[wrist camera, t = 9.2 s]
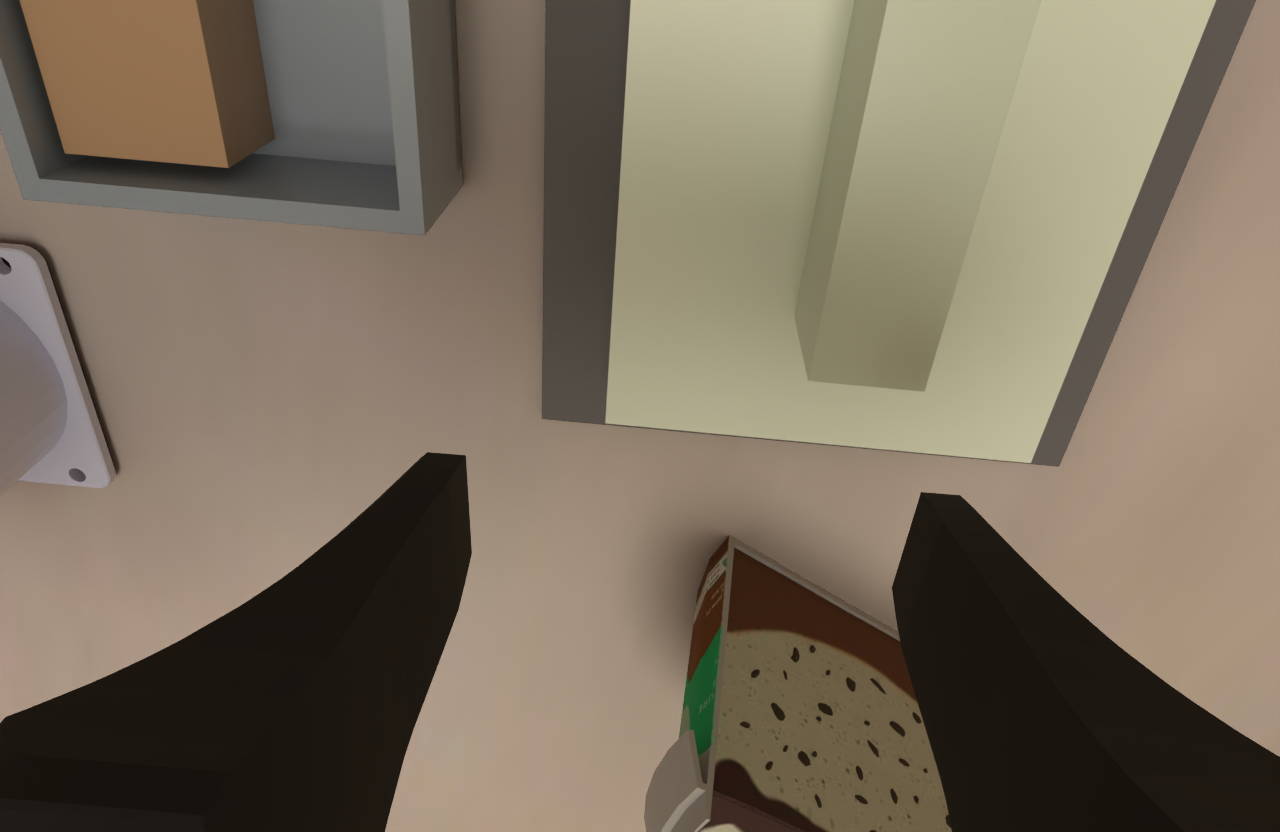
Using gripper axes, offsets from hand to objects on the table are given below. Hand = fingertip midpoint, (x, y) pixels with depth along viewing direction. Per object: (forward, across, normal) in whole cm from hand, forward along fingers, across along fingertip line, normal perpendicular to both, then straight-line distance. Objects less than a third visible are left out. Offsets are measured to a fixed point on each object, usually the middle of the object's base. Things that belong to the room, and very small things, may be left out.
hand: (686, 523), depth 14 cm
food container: (+10, -5, +14) cm, 18 cm away
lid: (+10, -4, -4) cm, 11 cm away
